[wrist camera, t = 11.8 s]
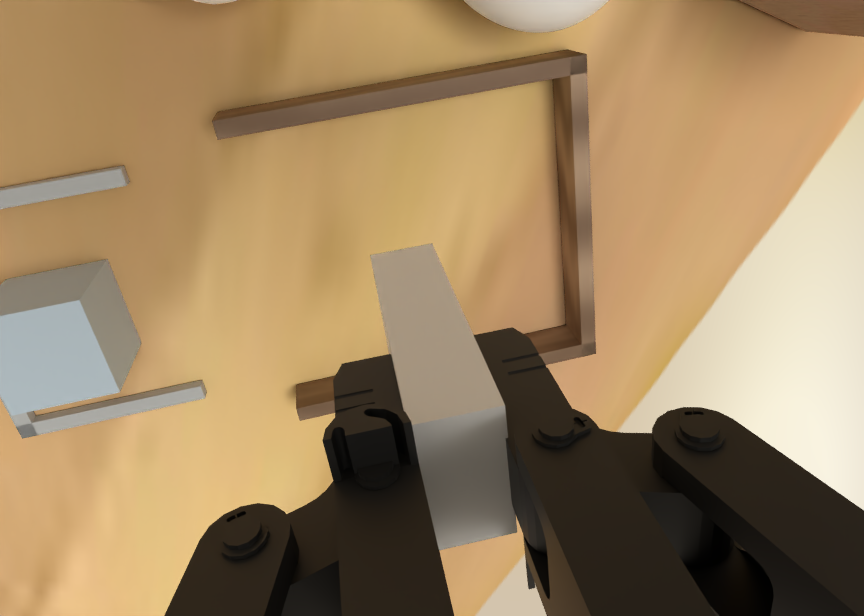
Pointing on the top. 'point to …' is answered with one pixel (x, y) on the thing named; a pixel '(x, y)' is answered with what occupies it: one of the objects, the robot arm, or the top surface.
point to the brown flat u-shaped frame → (558, 66)
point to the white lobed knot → (215, 1)
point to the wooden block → (817, 14)
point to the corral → (107, 409)
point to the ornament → (536, 13)
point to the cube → (64, 337)
